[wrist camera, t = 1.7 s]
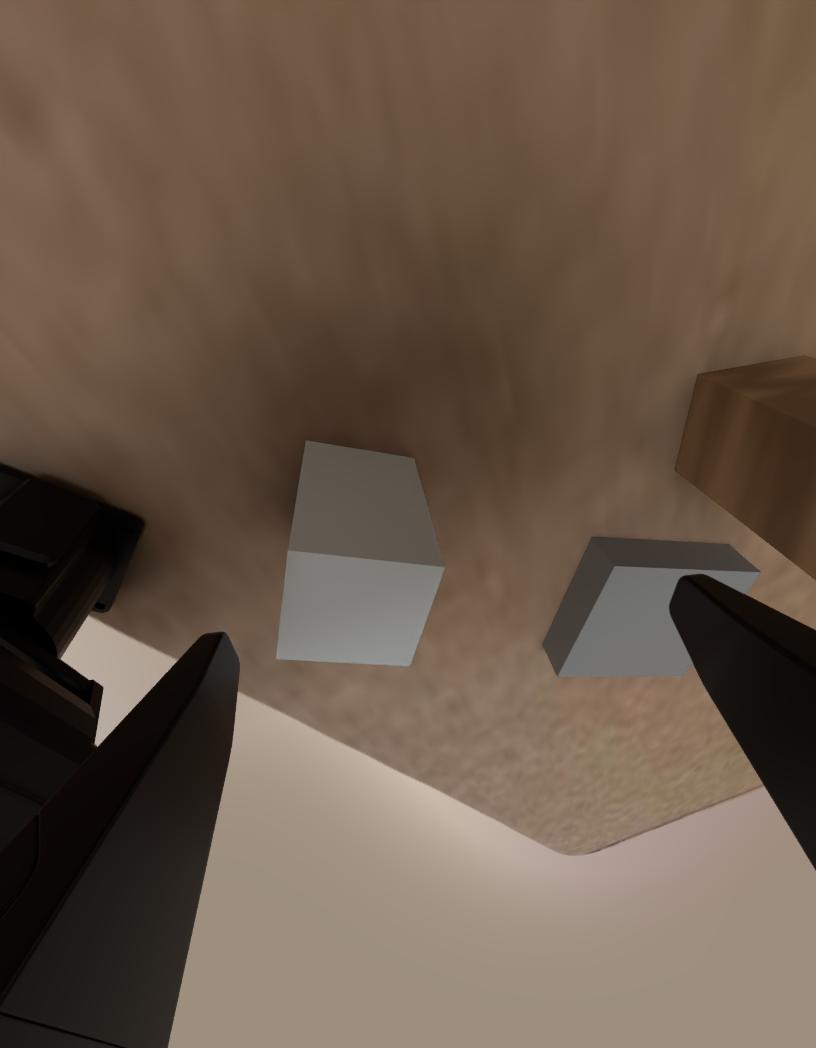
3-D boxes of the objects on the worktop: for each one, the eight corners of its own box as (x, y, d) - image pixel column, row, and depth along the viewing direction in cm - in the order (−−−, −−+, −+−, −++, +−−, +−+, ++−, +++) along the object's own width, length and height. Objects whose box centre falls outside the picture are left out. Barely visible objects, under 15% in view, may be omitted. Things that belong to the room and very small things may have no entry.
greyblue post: (391, 541, 24) (409, 666, 17) (295, 530, 23) (276, 659, 16) (413, 457, 21) (445, 567, 15) (305, 440, 20) (287, 550, 13)
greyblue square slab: (540, 639, 31) (557, 676, 28) (588, 532, 26) (614, 566, 23) (656, 640, 32) (682, 676, 30) (723, 540, 27) (761, 572, 25)
